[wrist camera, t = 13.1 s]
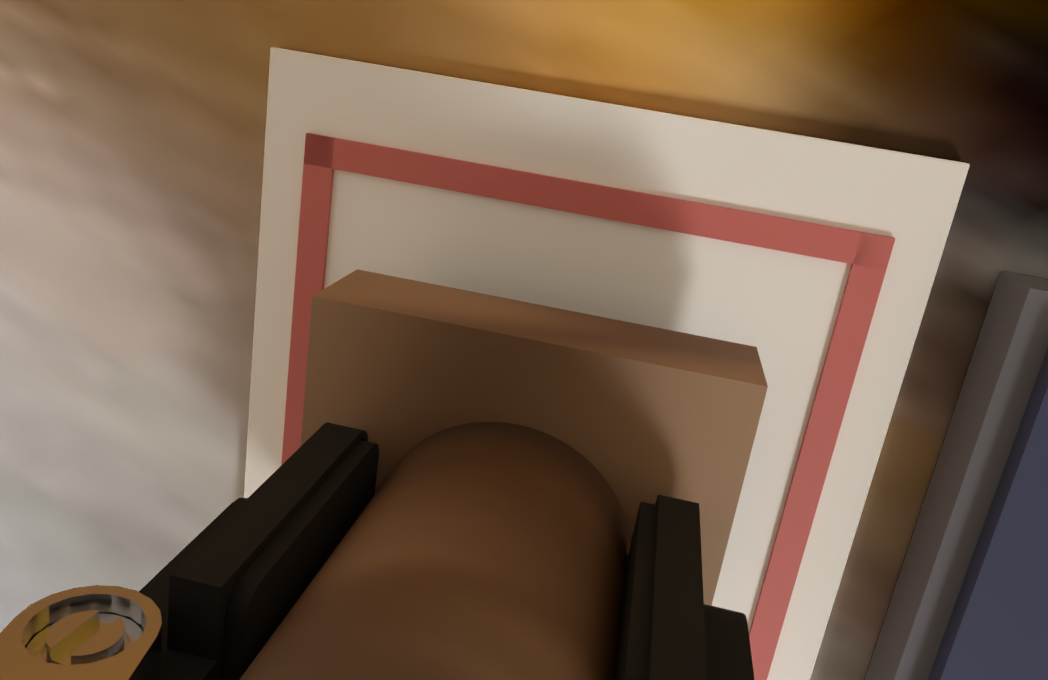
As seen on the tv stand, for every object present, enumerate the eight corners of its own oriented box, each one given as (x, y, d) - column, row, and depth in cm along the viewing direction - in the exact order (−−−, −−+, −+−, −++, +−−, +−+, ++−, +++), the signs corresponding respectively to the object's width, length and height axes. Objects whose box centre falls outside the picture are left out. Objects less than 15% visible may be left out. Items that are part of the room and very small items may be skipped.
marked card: (964, 162, 13) (972, 164, 13) (772, 783, 17) (774, 799, 16) (278, 47, 14) (267, 47, 14) (241, 647, 18) (231, 659, 18)
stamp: (753, 334, 13) (906, 870, 4) (671, 665, 15) (659, 1510, 6) (370, 261, 14) (-180, 587, 5) (338, 585, 16) (-104, 1243, 7)
